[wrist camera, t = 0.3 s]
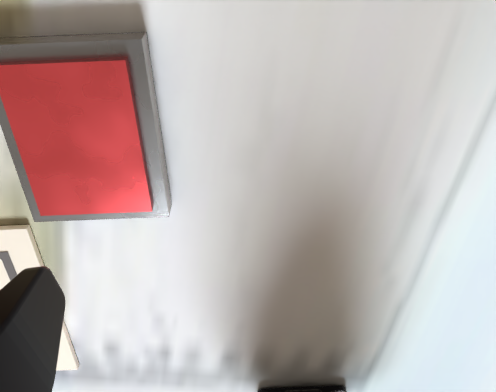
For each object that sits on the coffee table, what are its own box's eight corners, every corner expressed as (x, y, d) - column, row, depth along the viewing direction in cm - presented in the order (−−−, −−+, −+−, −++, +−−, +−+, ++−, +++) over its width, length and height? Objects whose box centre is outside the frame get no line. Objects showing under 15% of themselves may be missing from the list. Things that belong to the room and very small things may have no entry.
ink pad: (171, 203, 25) (167, 222, 24) (42, 209, 25) (30, 227, 24) (146, 32, 20) (139, 42, 19) (-14, 38, 20) (-34, 49, 19)
